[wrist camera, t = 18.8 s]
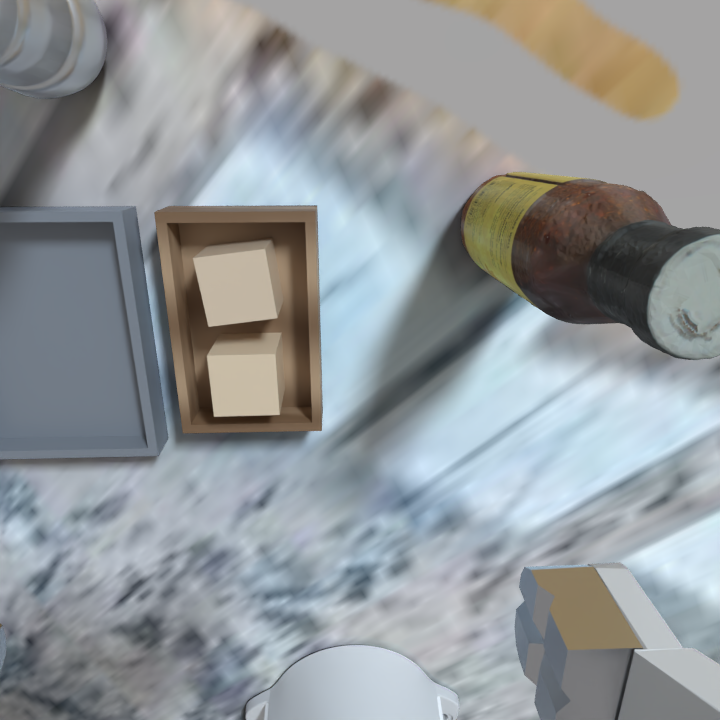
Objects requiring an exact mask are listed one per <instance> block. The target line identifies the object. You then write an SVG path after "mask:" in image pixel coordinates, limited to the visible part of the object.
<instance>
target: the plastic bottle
mask: <svg viewBox="0 0 720 720" xmlns="http://www.w3.org/2000/svg"><path fill="white" fill-rule="evenodd" d="M106 53H107V34H106V28H105V24H104V21H103V18H102V15H101V13H100V11H99V9H98V7H97V5H96V3H95V2H94V0H0V85H1V86H3V87H5V88H8V89H10V90H12V91H15V92H17V93H20V94H22V95H25V96H30V97H34V98H42V99H52V98H57V97H63V96H67V95H71V94H74V93H76V92H78V91H81V90H83V89H84V88H85V87H87V86H88V85H90V84H91V83H92V82H93V80H94V79H95V78H96V77H97V76H98V74H99V72H100V71H101V69H102V67H103V64H104V61H105V57H106Z"/></svg>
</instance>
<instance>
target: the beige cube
mask: <svg viewBox="0 0 720 720" xmlns="http://www.w3.org/2000/svg"><path fill="white" fill-rule="evenodd" d="M193 261H194V265H195V270H196V274H197V278H198V283H199V287H200V292H201V296H202V300H203V305H204V309H205V313H206V318H207V322H208V327H212V326H220V325H228V324H236V323H244V322H252V321H260V320H268V319H275V318H278V315H279V312H280V309H281V306H282V303H283V294H282V288H281V283H280V277H279V271H278V265H277V260H276V254H275V248H274V242H273V237H271V238H263V239H255V240H247V241H240V242H232V243H224V244H216V245H208V246H207V247H206V248H205V249H203V250H202V251H201V252H200V253H198V254H197V255H196V256H195V257H194V258H193Z"/></svg>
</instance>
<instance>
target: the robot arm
mask: <svg viewBox="0 0 720 720" xmlns="http://www.w3.org/2000/svg"><path fill="white" fill-rule="evenodd" d="M519 588H520V590H521V593H522V595H523V598H524V600H525V601H524V602H523V603H522V604H521V605H520V606H519V607H518V608H517V609H516V618H515V637H516V647H517V651H518V655H519V660H520V663H521V666H522V669H523V672H524V675H525V676H526V677H527V678H529V679H530V680H531V681H532V682H533V683H534V684H535V685H537V689H536V695H535V702H534V703H535V706H536V708H537V711H538V714H539V717H540V719H541V720H720V665H719V664H718V663H716V662H715V661H713V660H712V659H710V658H709V657H707V656H705V655H704V654H702V653H701V652H699V651H698V650H696V649H694V648H683V647H682V645H681V644H680V643H679V641H678V640H677V638H676V637H675V635H674V634H673V633H672V631H671V630H670V628H669V627H668V625H667V624H666V622H665V621H664V620H663V618H662V617H661V615H660V614H659V612H658V611H657V610H656V608H655V607H654V605H653V604H652V602H651V601H650V600H649V598H648V597H647V595H646V594H645V592H644V591H643V589H642V588H641V587H640V585H639V584H638V582H637V581H636V579H635V578H634V577H633V575H632V574H631V572H630V571H629V569H628V568H627V567H626V566H625V565H623V564H621V563H602V564H588V565H564V566H536V567H524V569H523V571H522V573H521V579H520V585H519ZM5 656H6V636H5V632H4V629H3V625H2V624H0V672H1V669H2V666H3V662H4V659H5ZM459 709H460V708H459V698H458V696H457V694H456V693H454V692H453V691H451V690H449V689H448V688H445V687H443V686H441V685H439V684H436V683H434V682H433V681H432V680H431V679H430V678H429V677H428V676H427V675H426V674H425V673H424V672H423V671H422V669H421V668H420V667H419V666H417V665H416V664H415V663H414V662H412V661H411V660H410V659H408V658H406V657H405V656H403V655H401V654H398V653H396V652H394V651H391V650H388V649H384V648H380V647H374V646H366V645H347V646H339V647H333V648H329V649H325V650H322V651H319V652H316V653H314V654H311V655H309V656H307V657H305V658H303V659H302V660H300V661H298V662H297V663H295V664H294V665H293V666H292V667H290V668H289V669H288V670H287V671H286V672H285V673H284V674H283V676H282V677H281V678H280V679H279V680H278V682H277V683H276V684H275V685H274V686H273V687H272V688H271V689H269V690H267V691H265V692H263V693H261V694H259V695H257V696H255V697H254V698H252V699H251V700H250V701H249V702H248V703H247V705H246V720H456V719H457V716H458V713H459Z"/></svg>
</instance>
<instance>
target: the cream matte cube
mask: <svg viewBox="0 0 720 720" xmlns="http://www.w3.org/2000/svg"><path fill="white" fill-rule="evenodd" d="M207 361H208V369H209V378H210V387H211V395H212V404H213V412H214V417H223V416H260V415H280V411H281V406H282V401H283V396H284V391H285V380H284V364H283V349H282V333H238V334H220V335H219V336H218V338H217V340H216V341H215V343H214V345H213V346H212V348H211V350H210V351H209V353H208V355H207Z"/></svg>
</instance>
